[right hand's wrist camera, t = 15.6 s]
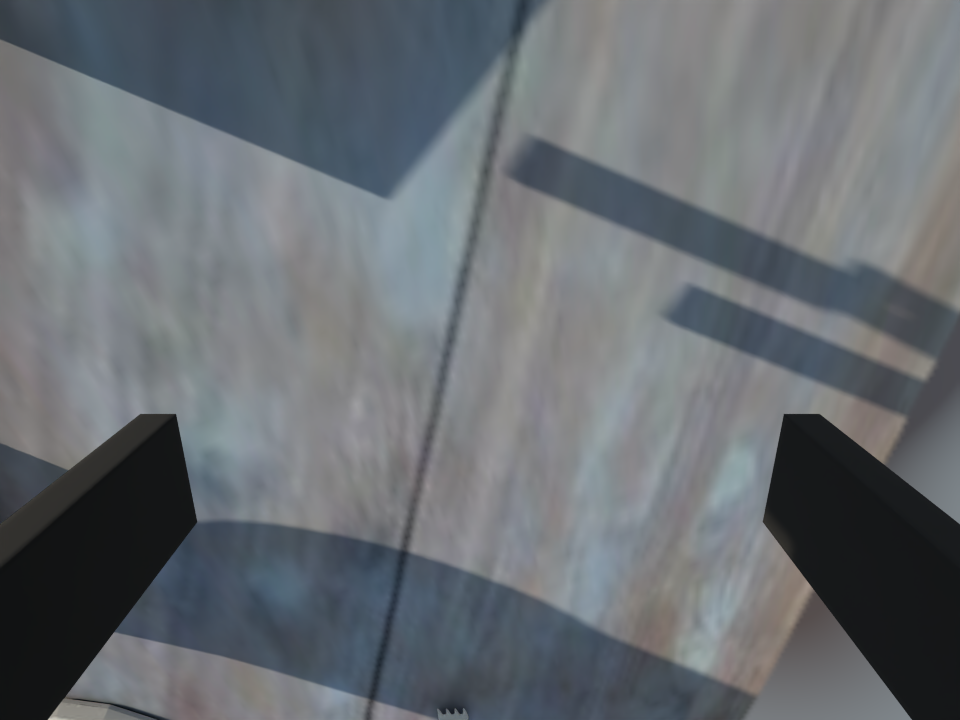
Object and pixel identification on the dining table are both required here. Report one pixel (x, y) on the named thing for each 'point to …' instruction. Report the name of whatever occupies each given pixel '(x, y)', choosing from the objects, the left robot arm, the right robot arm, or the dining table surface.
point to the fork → (452, 715)
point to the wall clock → (92, 712)
